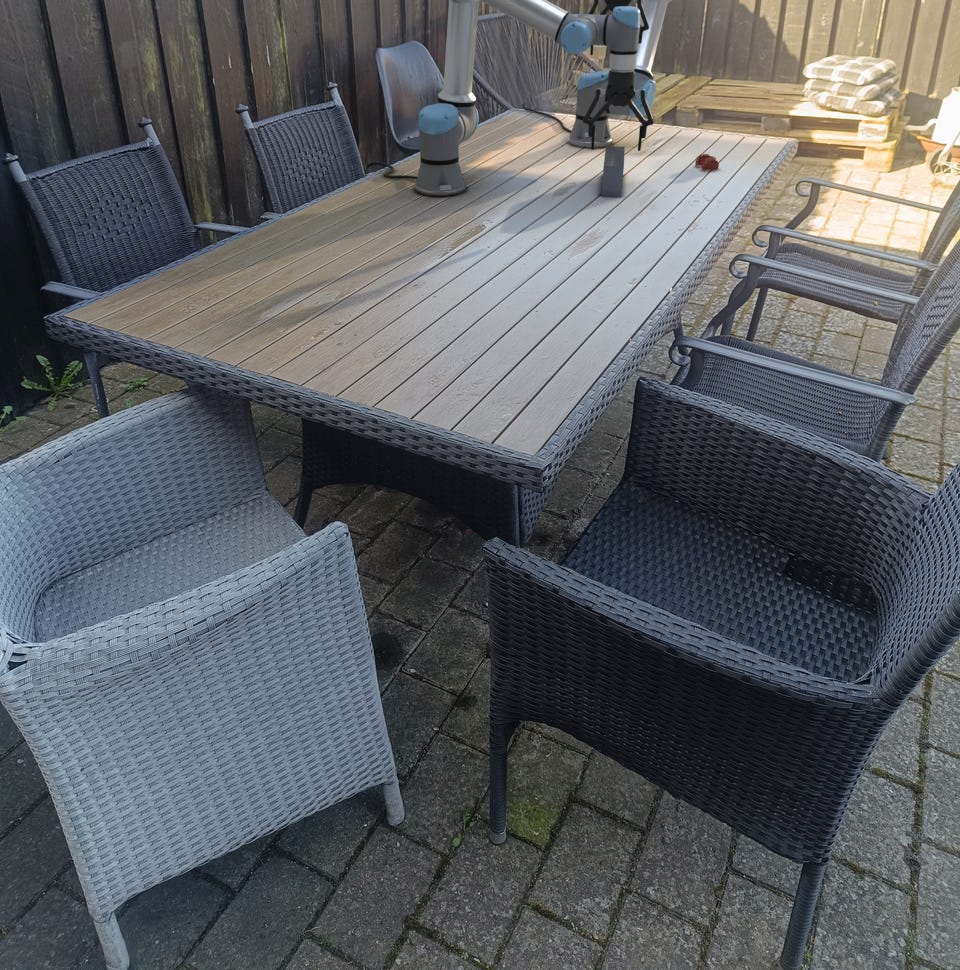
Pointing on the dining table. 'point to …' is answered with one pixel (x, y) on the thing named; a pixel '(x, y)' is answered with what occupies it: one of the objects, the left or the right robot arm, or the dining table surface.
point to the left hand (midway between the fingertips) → (615, 149)
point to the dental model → (707, 162)
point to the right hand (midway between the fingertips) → (613, 55)
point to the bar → (613, 171)
